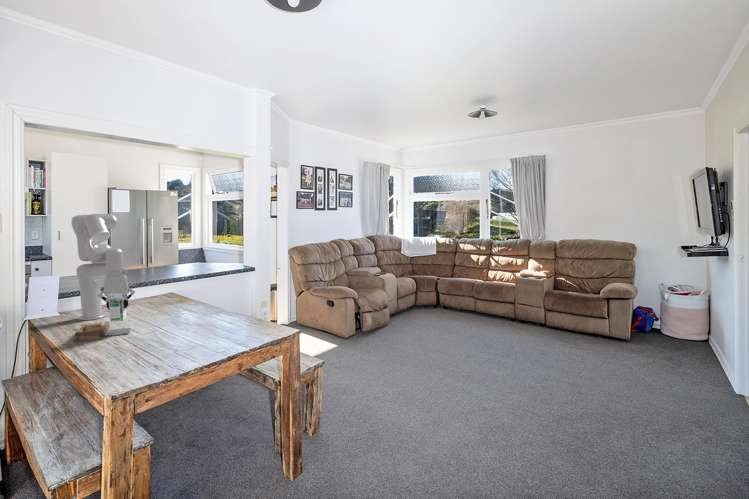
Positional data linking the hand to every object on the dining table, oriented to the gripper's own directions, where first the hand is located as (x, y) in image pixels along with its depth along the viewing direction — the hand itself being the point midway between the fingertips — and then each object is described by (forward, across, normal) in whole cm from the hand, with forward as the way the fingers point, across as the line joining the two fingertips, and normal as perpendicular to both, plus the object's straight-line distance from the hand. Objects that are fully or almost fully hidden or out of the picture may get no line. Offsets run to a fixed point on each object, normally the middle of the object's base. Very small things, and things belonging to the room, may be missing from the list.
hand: (117, 308), depth 194 cm
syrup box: (+6, 0, 0) cm, 6 cm away
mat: (+13, 0, 0) cm, 13 cm away
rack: (+13, +11, -1) cm, 17 cm away
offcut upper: (+10, +11, -5) cm, 16 cm away
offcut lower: (+13, +11, -5) cm, 18 cm away
